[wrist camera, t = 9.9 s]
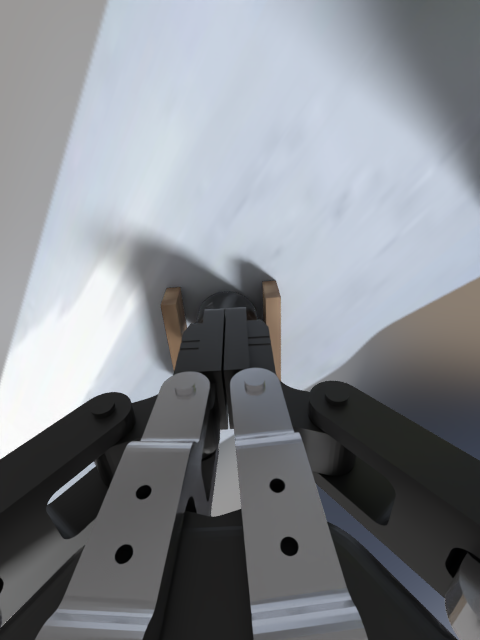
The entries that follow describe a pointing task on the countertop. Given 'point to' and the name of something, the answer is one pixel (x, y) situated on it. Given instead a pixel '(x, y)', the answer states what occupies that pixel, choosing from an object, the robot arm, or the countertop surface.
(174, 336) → the dock
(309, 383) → the countertop surface
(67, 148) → the countertop surface
